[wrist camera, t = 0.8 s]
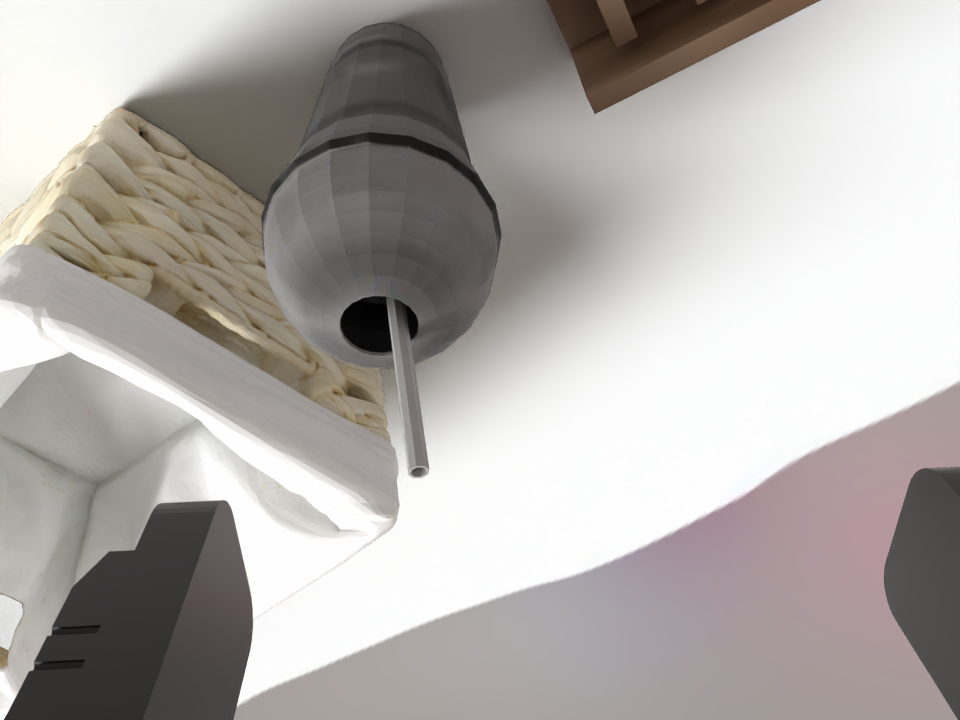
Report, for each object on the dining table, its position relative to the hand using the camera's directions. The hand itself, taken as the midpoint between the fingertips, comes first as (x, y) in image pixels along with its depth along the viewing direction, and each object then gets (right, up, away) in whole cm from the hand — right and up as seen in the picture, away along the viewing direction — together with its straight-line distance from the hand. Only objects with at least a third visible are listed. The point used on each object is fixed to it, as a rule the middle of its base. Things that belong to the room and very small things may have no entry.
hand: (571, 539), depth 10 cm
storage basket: (-18, +4, +32) cm, 37 cm away
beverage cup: (-5, +14, +24) cm, 28 cm away
